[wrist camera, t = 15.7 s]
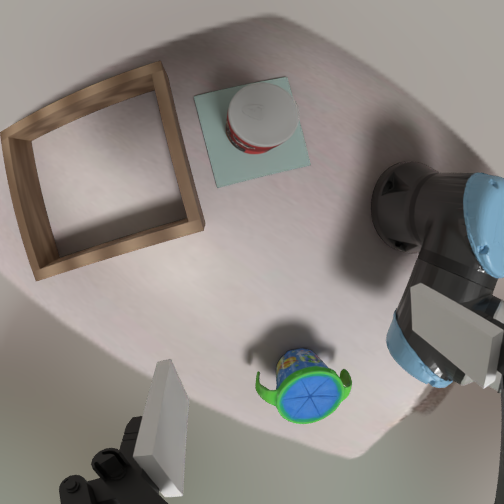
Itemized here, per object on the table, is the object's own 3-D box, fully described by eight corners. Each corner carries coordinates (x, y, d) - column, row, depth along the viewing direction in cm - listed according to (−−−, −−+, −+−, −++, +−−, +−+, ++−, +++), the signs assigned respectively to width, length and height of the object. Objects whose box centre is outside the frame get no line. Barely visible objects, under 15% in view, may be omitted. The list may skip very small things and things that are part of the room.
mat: (286, 78, 43) (287, 77, 42) (309, 165, 46) (310, 165, 45) (194, 97, 42) (193, 96, 41) (217, 188, 45) (217, 188, 45)
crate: (167, 76, 41) (160, 60, 34) (205, 223, 46) (203, 230, 39) (23, 136, 40) (0, 132, 33) (56, 268, 45) (36, 281, 38)
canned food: (222, 106, 42) (224, 84, 32) (277, 102, 43) (295, 80, 32) (228, 157, 44) (231, 150, 33) (283, 152, 45) (303, 144, 34)
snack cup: (246, 385, 53) (253, 423, 43) (258, 334, 51) (268, 367, 41) (328, 390, 55) (346, 423, 45) (344, 342, 53) (368, 372, 43)
